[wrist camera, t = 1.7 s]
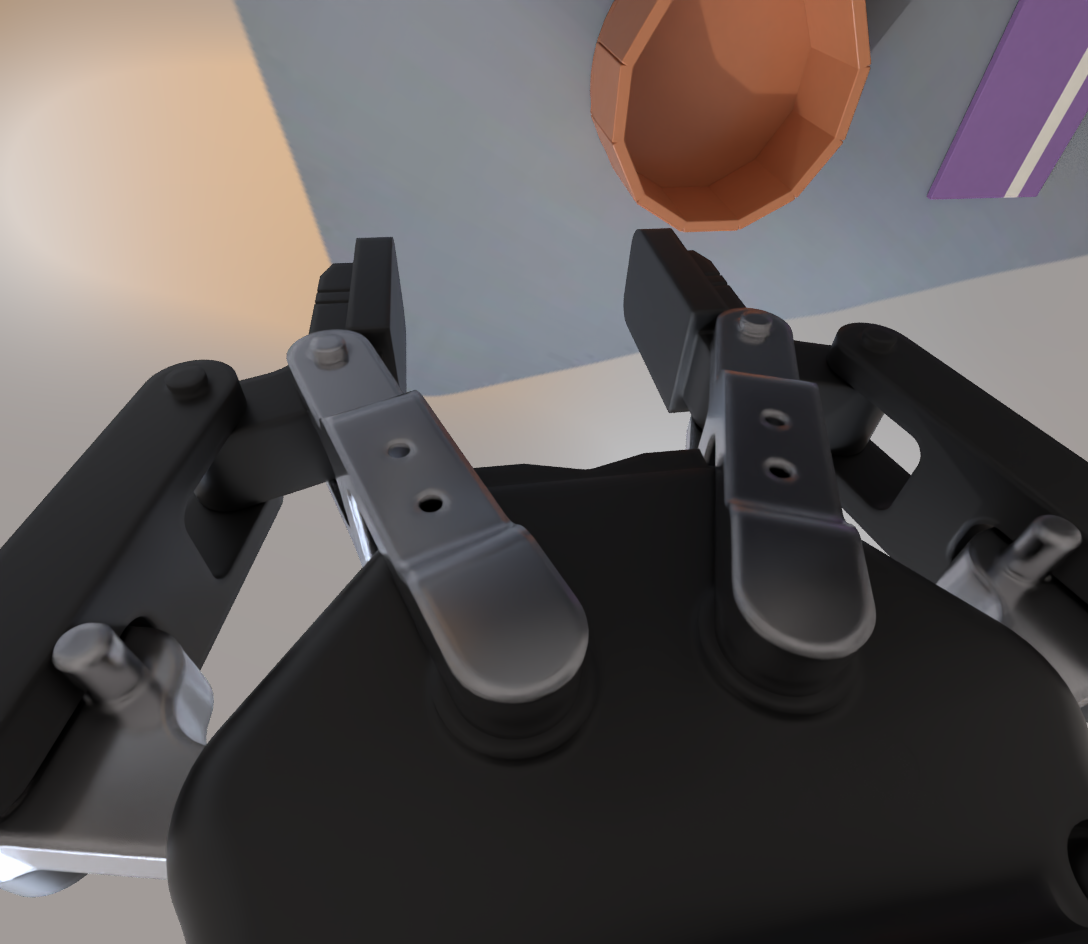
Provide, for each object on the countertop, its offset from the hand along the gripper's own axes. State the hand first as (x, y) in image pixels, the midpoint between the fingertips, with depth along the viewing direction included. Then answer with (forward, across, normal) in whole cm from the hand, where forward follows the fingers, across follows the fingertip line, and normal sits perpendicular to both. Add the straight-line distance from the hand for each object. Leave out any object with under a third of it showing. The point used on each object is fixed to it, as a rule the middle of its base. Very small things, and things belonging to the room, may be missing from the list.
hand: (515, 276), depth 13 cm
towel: (+17, -28, 0) cm, 33 cm away
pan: (+17, -11, -3) cm, 21 cm away
